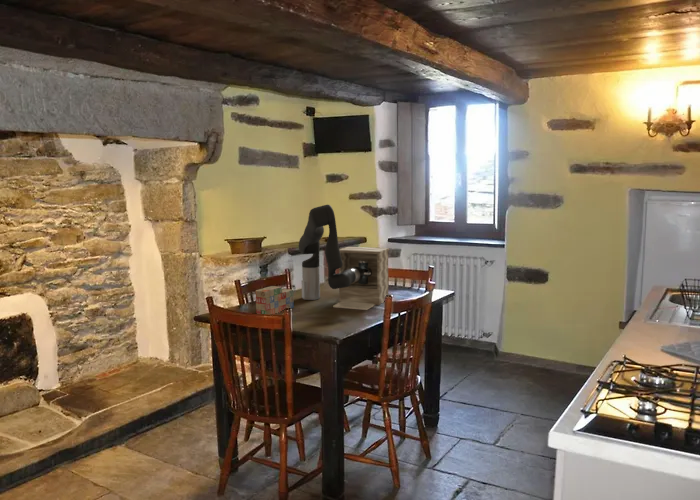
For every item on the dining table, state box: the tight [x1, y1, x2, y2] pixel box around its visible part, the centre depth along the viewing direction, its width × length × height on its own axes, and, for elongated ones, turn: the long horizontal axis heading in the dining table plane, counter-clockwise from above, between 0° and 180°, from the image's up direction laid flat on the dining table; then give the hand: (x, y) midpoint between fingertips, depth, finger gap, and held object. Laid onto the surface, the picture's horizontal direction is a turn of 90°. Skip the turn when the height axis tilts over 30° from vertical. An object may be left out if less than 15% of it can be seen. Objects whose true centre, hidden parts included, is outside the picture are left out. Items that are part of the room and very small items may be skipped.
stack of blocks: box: [255, 285, 295, 315], centre depth 276 cm, size 21×6×12 cm, turn 148°
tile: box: [332, 301, 375, 311], centre depth 286 cm, size 11×18×1 cm, turn 67°
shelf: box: [338, 246, 390, 306], centre depth 297 cm, size 15×23×27 cm, turn 67°
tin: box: [358, 260, 368, 284], centre depth 296 cm, size 5×5×12 cm
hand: (364, 269), depth 298 cm, fingers closed on tin, 5 cm apart
